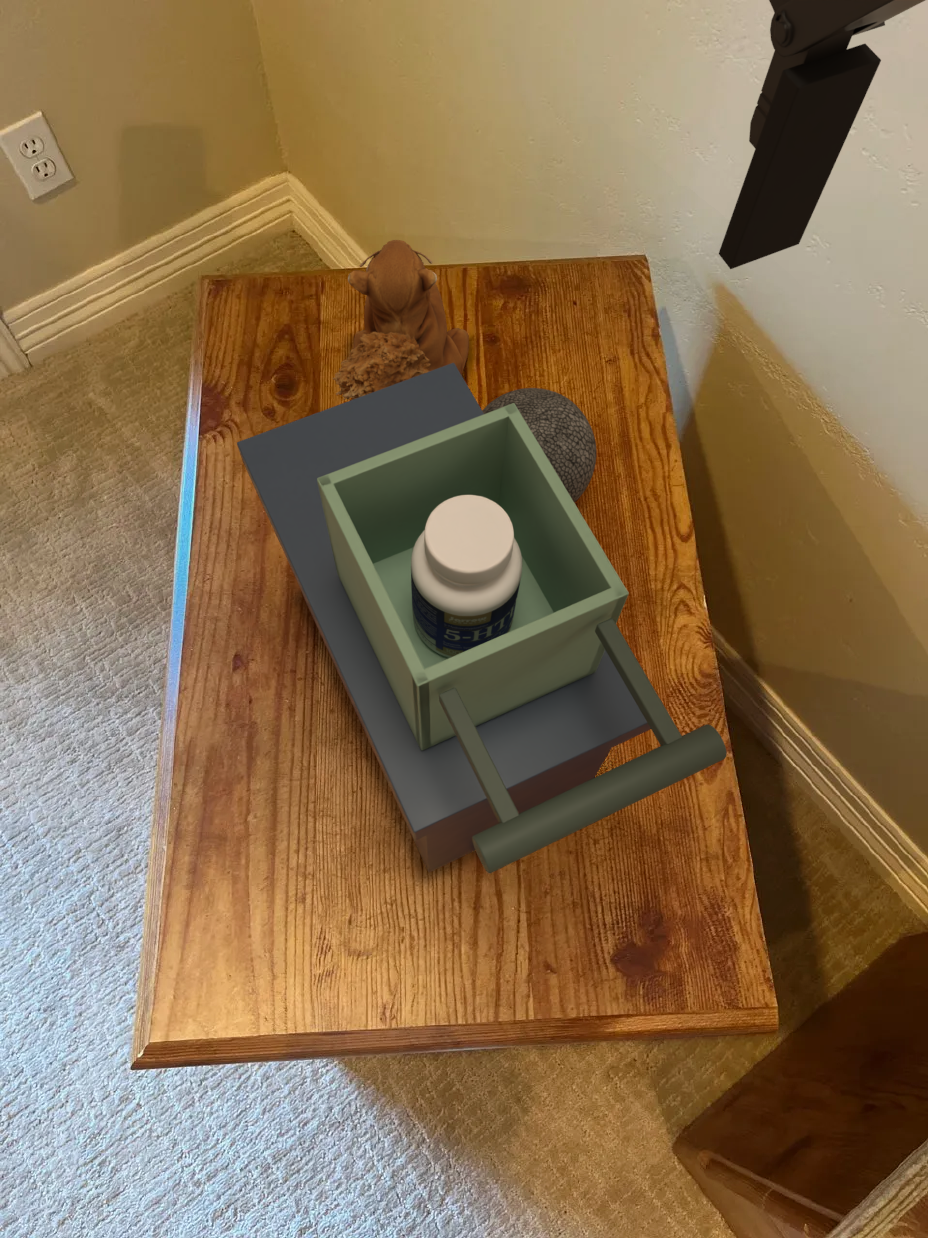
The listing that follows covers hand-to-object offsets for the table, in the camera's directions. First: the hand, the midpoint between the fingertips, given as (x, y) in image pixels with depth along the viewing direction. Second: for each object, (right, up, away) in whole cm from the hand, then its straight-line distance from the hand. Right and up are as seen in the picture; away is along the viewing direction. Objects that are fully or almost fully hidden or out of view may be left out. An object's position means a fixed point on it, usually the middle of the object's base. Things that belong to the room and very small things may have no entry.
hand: (878, 401), depth 29 cm
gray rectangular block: (-15, -12, +41) cm, 45 cm away
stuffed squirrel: (-18, +13, +52) cm, 57 cm away
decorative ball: (-8, +4, +49) cm, 49 cm away
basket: (-11, -10, +20) cm, 25 cm away
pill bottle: (-13, -7, +21) cm, 25 cm away
